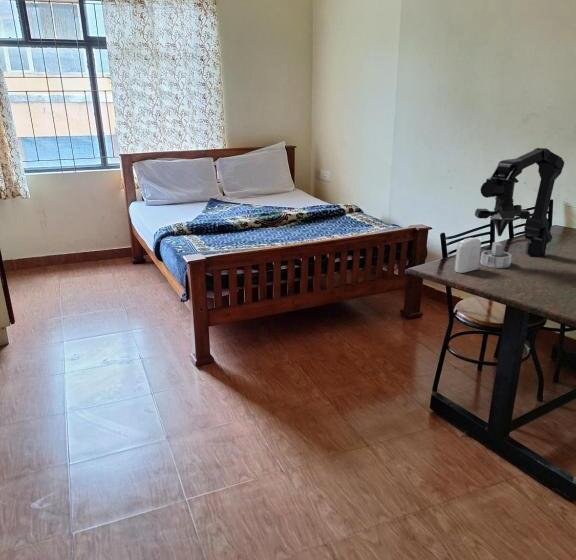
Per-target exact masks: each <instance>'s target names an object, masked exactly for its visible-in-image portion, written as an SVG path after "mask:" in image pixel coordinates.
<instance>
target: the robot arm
mask: <svg viewBox="0 0 576 560" xmlns="http://www.w3.org/2000/svg"><path fill="white" fill-rule="evenodd" d="M534 164H536V165H537V166H538V169H537V170H538V171H537V172H538V174H539V177H540V182H539V186H538V191H537V196H536V200H535V204H534V207H533V208H534V209H533V214H532V215H531V212H530V211H529V210H527V209H523V207H522V205H521V204H515V205H514V191H515V184H517V183H519V182H520V180H518V179H517V178H516V177H518V176H519V175H520V174H522V172H523V170H524V169H526V168H529V167H530V166H532V165H534ZM564 166H565V160H564V159H563V157H561V156H560V155H558V154H556V153H554V152H553V151H551V150H550V149H548V148H546V147H545V148H543V147H536V148H534V149H533V150H531V151H529V152H527V153H525V154H523V155H521V156H518V157H516V158H512V159H511V158H509V159H503V160H500V161H499V162H498V164H497V165H496V167H495V169H494V170H493V172H492V173H491V175H490V176H489V177H488V178H486V180H485V182H483V183H482V185H481V186H480V194H481V196H482V197H483V198H494V197H495V205H494V208H493V210H488V209H487V208H476V210H475V211H474V216H475V217H476V218H477V219H485V220H486V219H488V218H490V219H491V220H492V221H493V223H494V227H495V229H496V232H497V233H496V234H497V236H498V237H501V236H502V235H503V233H504V231H505V229H506V227H507V226H508V224H509V223H511V222H513V221H514V219H515V217H519V219H521V220H525V223H524V224H525V225H524V227H523V229H524V238H525V240H527V241H528V242H526V246H525V251H524V253H525V254H527V256H528V257H536V258H537V257H538V258H539V257H541V258H547V255H546V250H547V244H549V243H550V242H552V238H553V235H552V233H551V231H550V230H549V229H550V228H549V227H550V222H549V220H548V216H547V215H548V211H549V207H550V202H551V198H552V194H553V190H554V186H555V181H556V180H557V178H558V177H559V176H560V175H561V174H562V172H563V168H564Z"/></svg>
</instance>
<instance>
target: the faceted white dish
mask: <svg viewBox="0 0 576 560" xmlns="http://www.w3.org/2000/svg"><path fill="white" fill-rule="evenodd" d="M487 252H492V249H489V250H483V251H482V252H481V251H480V259H479V264H481V265H482V266H485V267H488V268H495V269H496V268H498V269H504V268H505V269H506V268H509V267H510V266H511V263H512V257H513V256H512V253H510V252H508V251H507V252H506V251H504V250H502V253H505V254H506V257H494V256H489V255H487Z"/></svg>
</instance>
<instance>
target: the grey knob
mask: <svg viewBox="0 0 576 560" xmlns="http://www.w3.org/2000/svg"><path fill="white" fill-rule="evenodd" d="M503 248H504V245H503V244H501V243H500V241H499V242H498V241H496V242H495V241H493V242H492V245H491V250H492V252H487V255H489V256H494V257H506V254H505V253H502V251H503Z"/></svg>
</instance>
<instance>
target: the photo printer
mask: <svg viewBox="0 0 576 560" xmlns="http://www.w3.org/2000/svg"><path fill="white" fill-rule="evenodd" d="M481 249H482V242H481V240H480V239H479V238H475V237H468V238H464V239H463V240H460V241H459V242H457V246H456V251H455V252H456V253H455V260H454V261H455V262H454V272H456V273H458V274H462V273H463V274H464V273H468V272H472V271H476V270H478V269H479V265H480V258H481Z"/></svg>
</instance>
